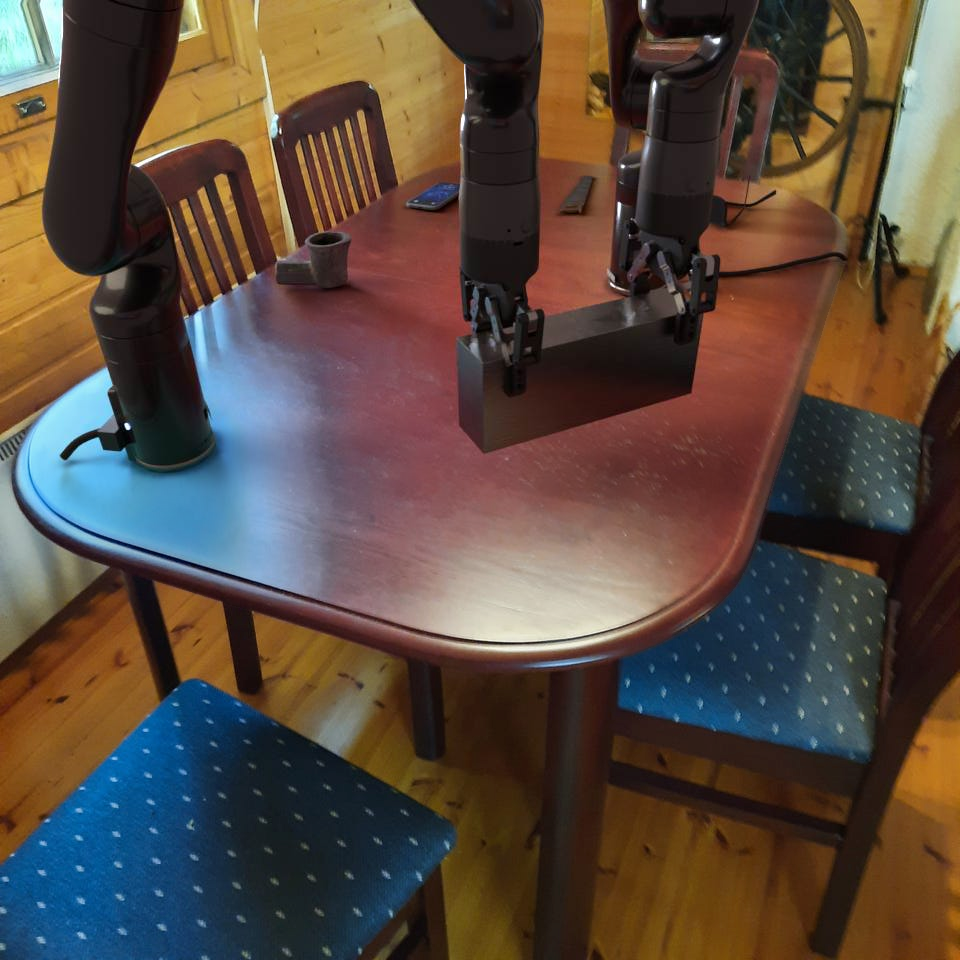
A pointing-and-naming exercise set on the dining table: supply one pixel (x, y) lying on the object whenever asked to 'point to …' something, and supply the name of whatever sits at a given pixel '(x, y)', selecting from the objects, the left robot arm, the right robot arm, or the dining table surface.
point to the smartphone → (435, 196)
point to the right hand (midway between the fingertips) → (659, 327)
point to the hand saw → (577, 197)
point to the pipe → (318, 262)
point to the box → (577, 371)
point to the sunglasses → (720, 205)
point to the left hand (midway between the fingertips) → (499, 379)
